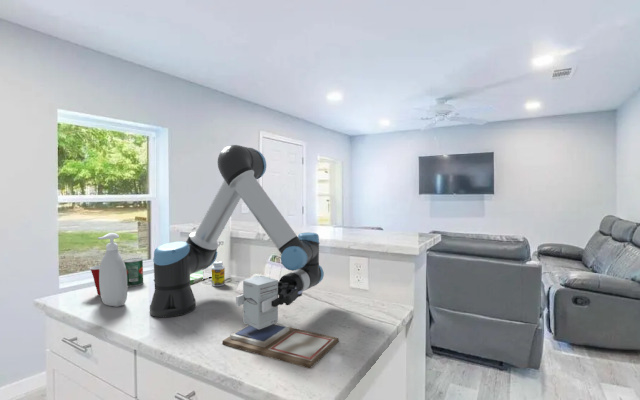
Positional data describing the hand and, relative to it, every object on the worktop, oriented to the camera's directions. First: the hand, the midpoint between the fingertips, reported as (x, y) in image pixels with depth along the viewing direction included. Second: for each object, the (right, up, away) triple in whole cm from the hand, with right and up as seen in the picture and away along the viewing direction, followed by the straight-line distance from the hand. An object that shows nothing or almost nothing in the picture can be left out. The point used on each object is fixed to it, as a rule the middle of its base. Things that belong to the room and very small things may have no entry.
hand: (249, 304), depth 94 cm
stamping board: (+8, -11, +1) cm, 14 cm away
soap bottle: (-58, -11, +34) cm, 68 cm away
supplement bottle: (-26, -9, +58) cm, 64 cm away
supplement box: (+2, -7, +5) cm, 9 cm away
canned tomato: (-65, -10, +61) cm, 90 cm away
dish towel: (-44, -10, +68) cm, 81 cm away
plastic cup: (-69, -10, +47) cm, 84 cm away
